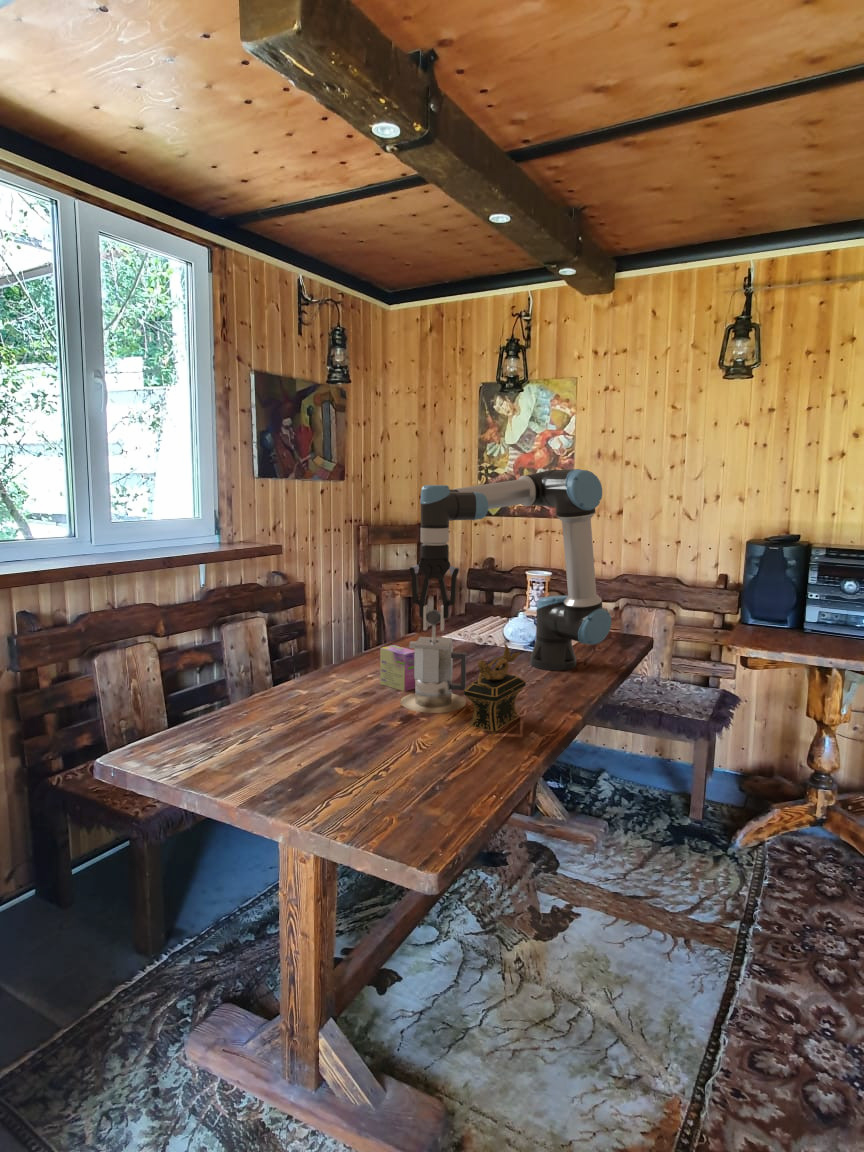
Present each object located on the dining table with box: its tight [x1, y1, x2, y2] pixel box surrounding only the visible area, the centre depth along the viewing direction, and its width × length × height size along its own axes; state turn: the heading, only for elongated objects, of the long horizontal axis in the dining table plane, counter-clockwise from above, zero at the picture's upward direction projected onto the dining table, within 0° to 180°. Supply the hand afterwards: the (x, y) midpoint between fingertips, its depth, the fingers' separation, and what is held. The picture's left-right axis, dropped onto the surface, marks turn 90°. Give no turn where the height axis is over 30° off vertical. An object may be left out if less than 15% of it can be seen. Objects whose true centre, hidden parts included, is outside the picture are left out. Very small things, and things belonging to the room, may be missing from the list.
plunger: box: [427, 609, 441, 642], centre depth 190 cm, size 4×4×17 cm
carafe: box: [408, 636, 467, 708], centre depth 191 cm, size 15×10×17 cm, turn 82°
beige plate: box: [400, 692, 467, 714], centre depth 192 cm, size 18×18×1 cm
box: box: [379, 644, 415, 692], centre depth 206 cm, size 10×6×12 cm, turn 47°
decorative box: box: [463, 642, 527, 735], centre depth 178 cm, size 20×10×20 cm, turn 146°
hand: (433, 629), depth 189 cm, fingers closed on plunger, 4 cm apart
